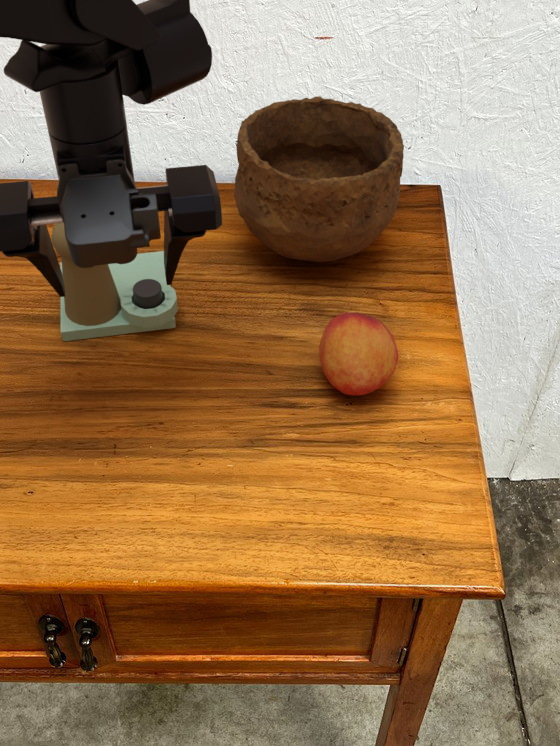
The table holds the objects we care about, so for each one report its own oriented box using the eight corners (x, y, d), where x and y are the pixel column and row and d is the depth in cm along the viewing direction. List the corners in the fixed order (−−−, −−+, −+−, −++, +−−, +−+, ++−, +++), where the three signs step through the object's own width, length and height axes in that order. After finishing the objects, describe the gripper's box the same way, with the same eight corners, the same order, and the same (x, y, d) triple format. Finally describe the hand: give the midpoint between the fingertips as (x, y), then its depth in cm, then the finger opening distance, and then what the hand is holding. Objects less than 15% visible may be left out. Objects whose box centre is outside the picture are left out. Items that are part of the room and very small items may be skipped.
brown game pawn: (95, 281, 87) (78, 197, 79) (133, 304, 84) (119, 220, 76) (53, 309, 84) (31, 224, 76) (91, 334, 81) (72, 249, 73)
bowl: (391, 205, 100) (406, 96, 90) (390, 300, 88) (408, 186, 77) (247, 195, 102) (245, 86, 91) (225, 287, 89) (220, 172, 78)
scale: (62, 347, 82) (57, 327, 79) (62, 271, 90) (57, 250, 88) (181, 333, 83) (178, 312, 81) (169, 259, 92) (167, 239, 90)
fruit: (402, 365, 81) (413, 307, 75) (379, 419, 75) (389, 362, 70) (330, 344, 82) (336, 286, 77) (303, 396, 77) (307, 338, 71)
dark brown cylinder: (135, 311, 82) (133, 298, 80) (133, 292, 84) (131, 280, 82) (164, 307, 82) (162, 295, 81) (161, 289, 84) (159, 277, 83)
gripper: (-56, 198, 50) (2, 365, 62) (229, 171, 53) (235, 337, 64) (-41, 114, 58) (8, 277, 69) (207, 95, 61) (216, 255, 72)
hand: (116, 287), depth 68 cm, fingers open, 9 cm apart
